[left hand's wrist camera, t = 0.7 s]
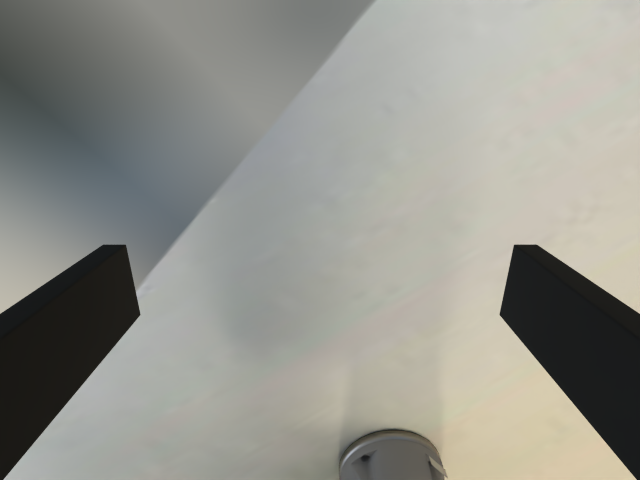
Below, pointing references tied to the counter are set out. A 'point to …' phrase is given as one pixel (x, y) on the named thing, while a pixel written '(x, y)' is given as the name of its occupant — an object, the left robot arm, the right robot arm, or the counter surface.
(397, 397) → the counter surface
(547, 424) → the counter surface
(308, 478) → the counter surface
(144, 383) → the counter surface
